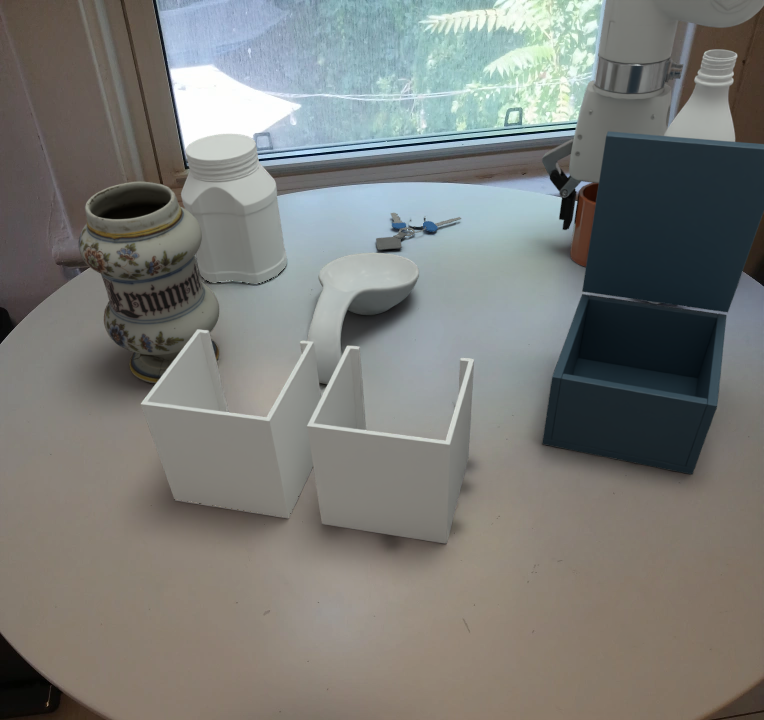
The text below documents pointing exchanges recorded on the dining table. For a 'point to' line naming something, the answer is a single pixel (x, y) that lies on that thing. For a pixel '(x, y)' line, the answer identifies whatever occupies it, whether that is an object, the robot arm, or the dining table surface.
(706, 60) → the water bottle
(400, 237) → the key chain
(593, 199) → the cup
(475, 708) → the dining table surface
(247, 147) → the jar
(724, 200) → the lid
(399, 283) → the spoon rest
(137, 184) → the apothecary jar
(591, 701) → the dining table surface
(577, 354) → the dark blue box base
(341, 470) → the white double open bin
